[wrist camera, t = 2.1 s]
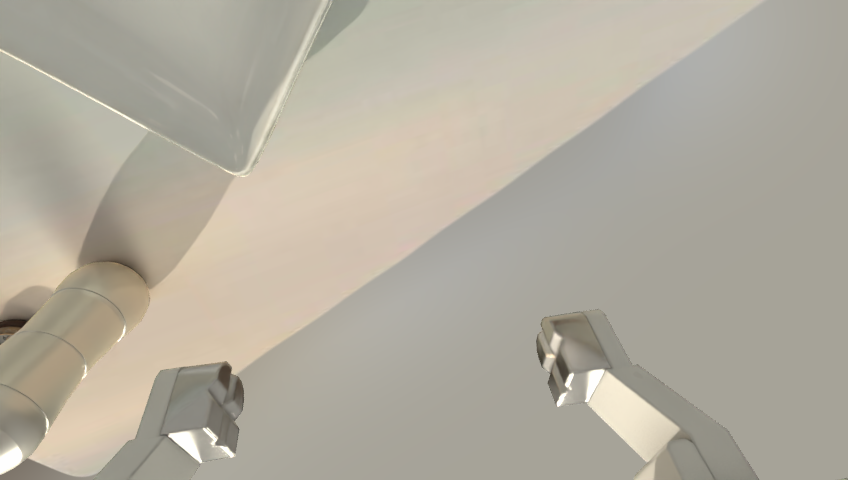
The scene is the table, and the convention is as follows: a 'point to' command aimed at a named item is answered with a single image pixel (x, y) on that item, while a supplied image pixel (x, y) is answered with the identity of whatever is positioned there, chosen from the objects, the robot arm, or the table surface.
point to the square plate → (174, 63)
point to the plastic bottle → (62, 351)
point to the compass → (9, 328)
